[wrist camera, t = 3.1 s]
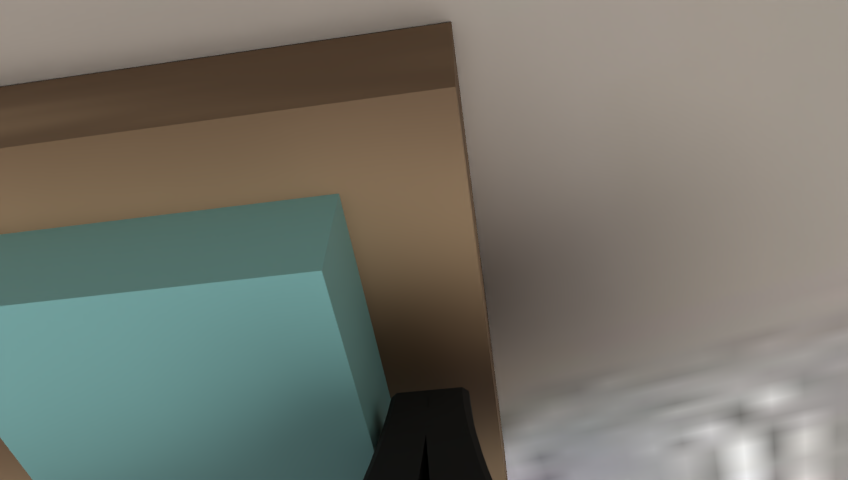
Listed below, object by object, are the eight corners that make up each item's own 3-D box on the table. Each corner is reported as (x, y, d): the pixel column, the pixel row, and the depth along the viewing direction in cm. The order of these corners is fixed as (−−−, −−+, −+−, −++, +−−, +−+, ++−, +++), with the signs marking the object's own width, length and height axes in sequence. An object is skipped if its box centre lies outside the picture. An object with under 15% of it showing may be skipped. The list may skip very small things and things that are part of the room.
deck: (504, 451, 19) (515, 553, 16) (33, 490, 20) (-23, 591, 18) (451, 22, 12) (455, 86, 10) (-252, 123, 13) (-407, 202, 11)
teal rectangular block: (422, 524, 16) (421, 611, 14) (174, 542, 16) (145, 628, 15) (338, 193, 11) (322, 270, 9) (-16, 236, 11) (-93, 316, 10)
